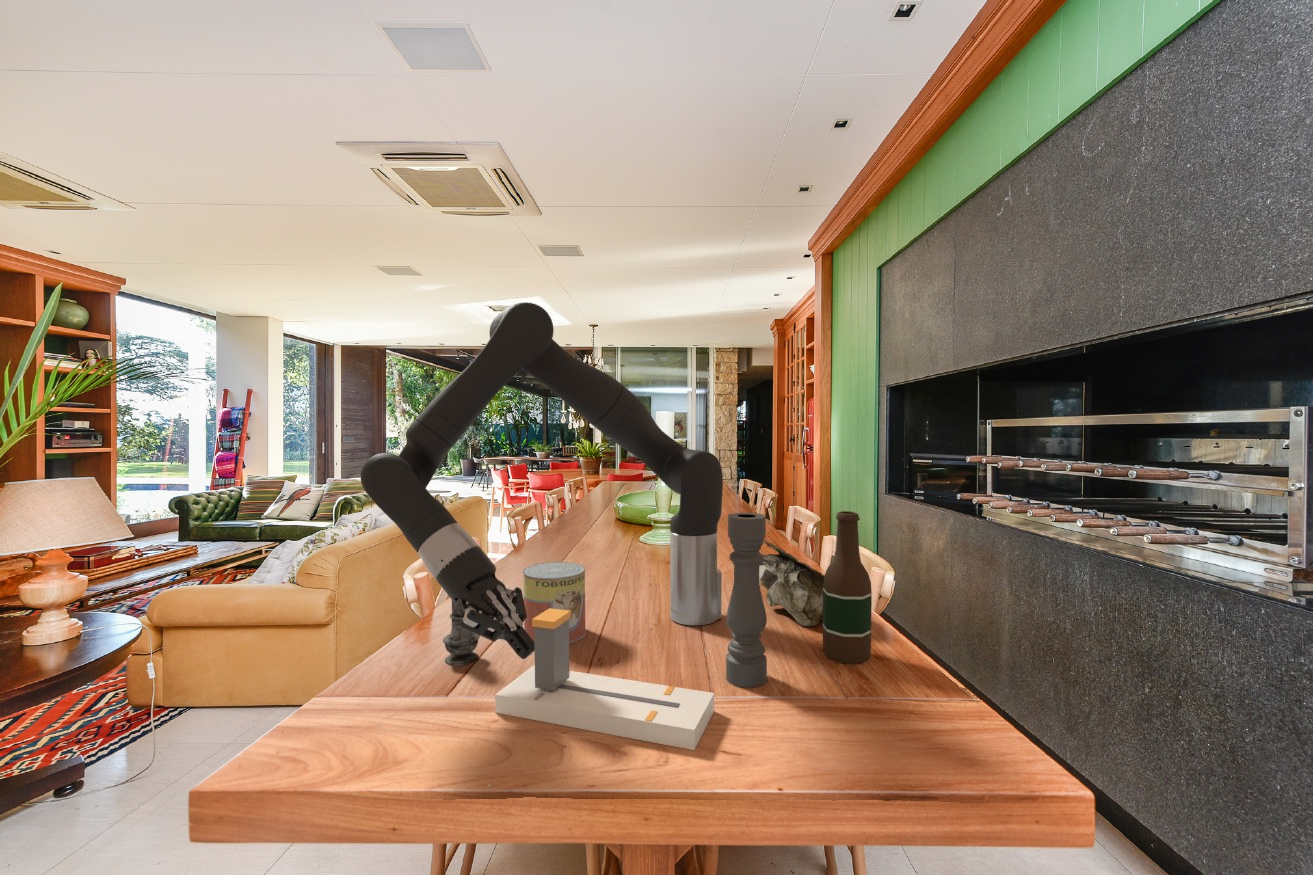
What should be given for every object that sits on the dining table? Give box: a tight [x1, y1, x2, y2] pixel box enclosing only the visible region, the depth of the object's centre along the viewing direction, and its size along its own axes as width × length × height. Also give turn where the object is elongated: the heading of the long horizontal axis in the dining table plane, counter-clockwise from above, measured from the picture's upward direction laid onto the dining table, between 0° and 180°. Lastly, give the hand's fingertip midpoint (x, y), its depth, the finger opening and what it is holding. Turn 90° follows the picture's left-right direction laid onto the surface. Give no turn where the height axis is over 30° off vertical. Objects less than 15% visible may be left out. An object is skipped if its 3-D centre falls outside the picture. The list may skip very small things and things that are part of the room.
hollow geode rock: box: [759, 539, 825, 627], centre depth 125 cm, size 28×13×15 cm
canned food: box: [522, 561, 587, 645], centre depth 110 cm, size 11×11×12 cm
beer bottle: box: [822, 510, 873, 665], centre depth 100 cm, size 8×8×24 cm
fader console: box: [494, 664, 715, 751], centre depth 81 cm, size 28×10×3 cm, turn 71°
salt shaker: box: [442, 600, 481, 667], centre depth 99 cm, size 6×6×12 cm
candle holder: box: [725, 512, 768, 689], centre depth 91 cm, size 6×6×25 cm
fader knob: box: [532, 608, 571, 691], centre depth 84 cm, size 3×5×10 cm
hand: (530, 653), depth 85 cm, fingers closed
